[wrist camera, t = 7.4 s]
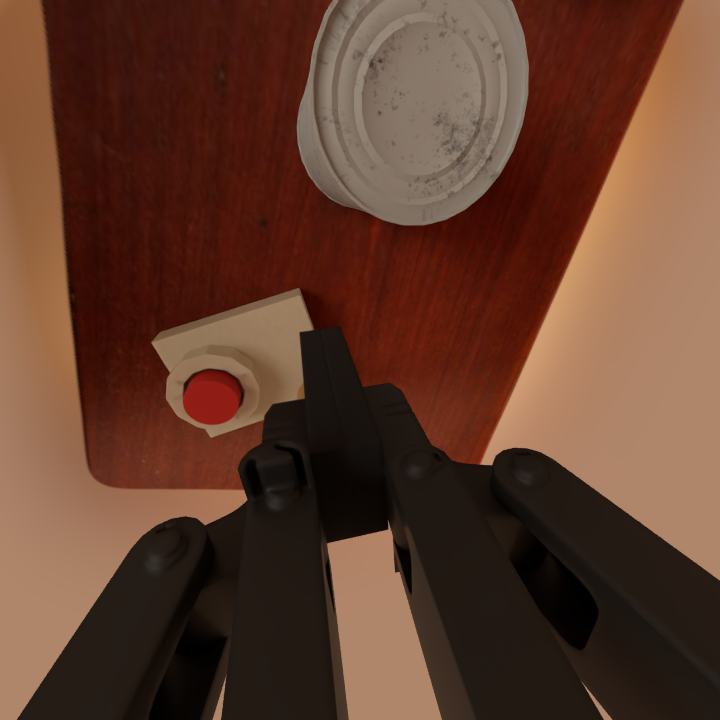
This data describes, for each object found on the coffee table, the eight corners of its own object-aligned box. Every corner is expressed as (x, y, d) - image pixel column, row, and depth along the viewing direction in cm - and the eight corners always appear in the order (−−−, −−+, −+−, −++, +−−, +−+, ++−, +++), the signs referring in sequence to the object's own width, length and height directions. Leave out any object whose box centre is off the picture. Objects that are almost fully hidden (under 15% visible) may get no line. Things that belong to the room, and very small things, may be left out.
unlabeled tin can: (325, 227, 28) (353, 255, 17) (273, 81, 23) (266, -9, 12) (437, 184, 28) (536, 185, 17) (408, 30, 23) (519, -101, 12)
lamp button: (178, 379, 27) (172, 391, 25) (228, 363, 27) (225, 373, 26) (202, 418, 29) (198, 431, 27) (249, 403, 29) (247, 415, 28)
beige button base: (154, 333, 29) (136, 354, 25) (299, 287, 29) (301, 301, 26) (210, 424, 33) (201, 453, 30) (333, 383, 34) (339, 406, 31)
